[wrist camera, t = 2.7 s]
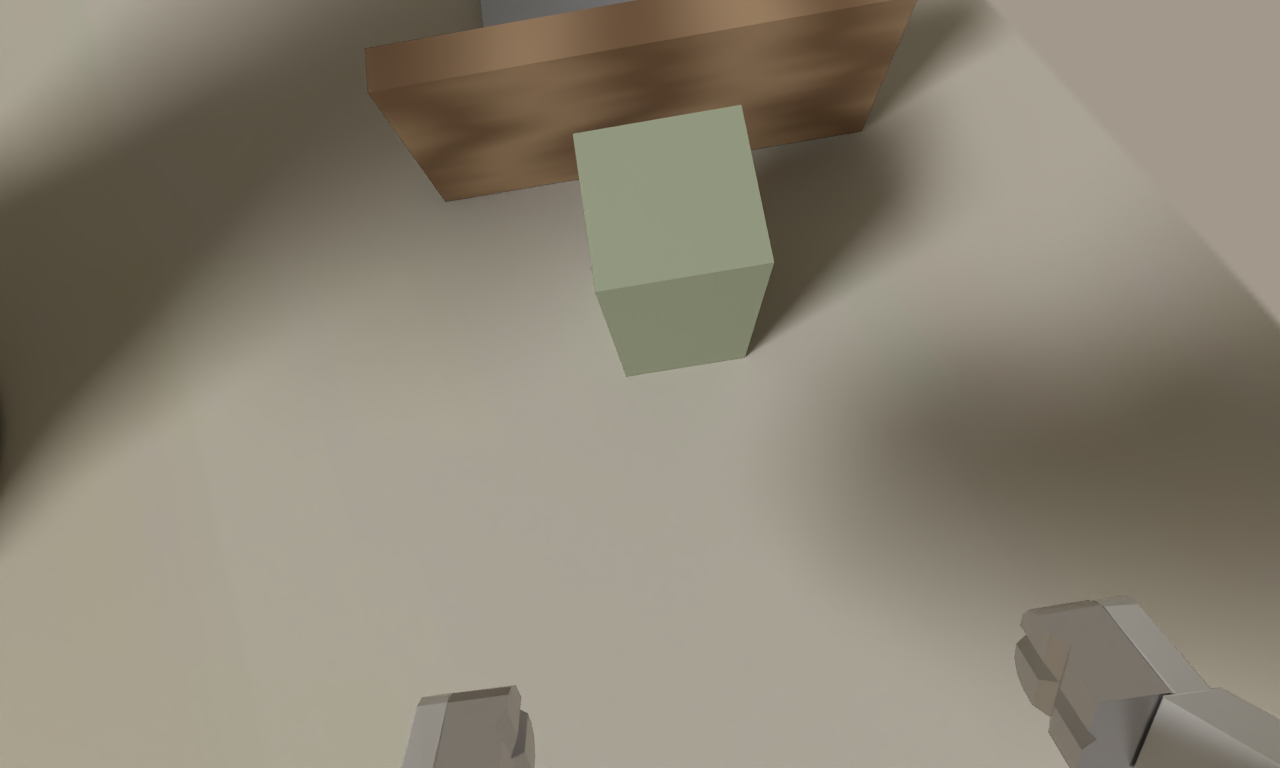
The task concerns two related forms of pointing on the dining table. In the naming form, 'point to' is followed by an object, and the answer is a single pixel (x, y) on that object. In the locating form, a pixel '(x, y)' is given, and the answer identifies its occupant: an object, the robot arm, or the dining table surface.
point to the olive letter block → (675, 237)
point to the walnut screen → (628, 80)
